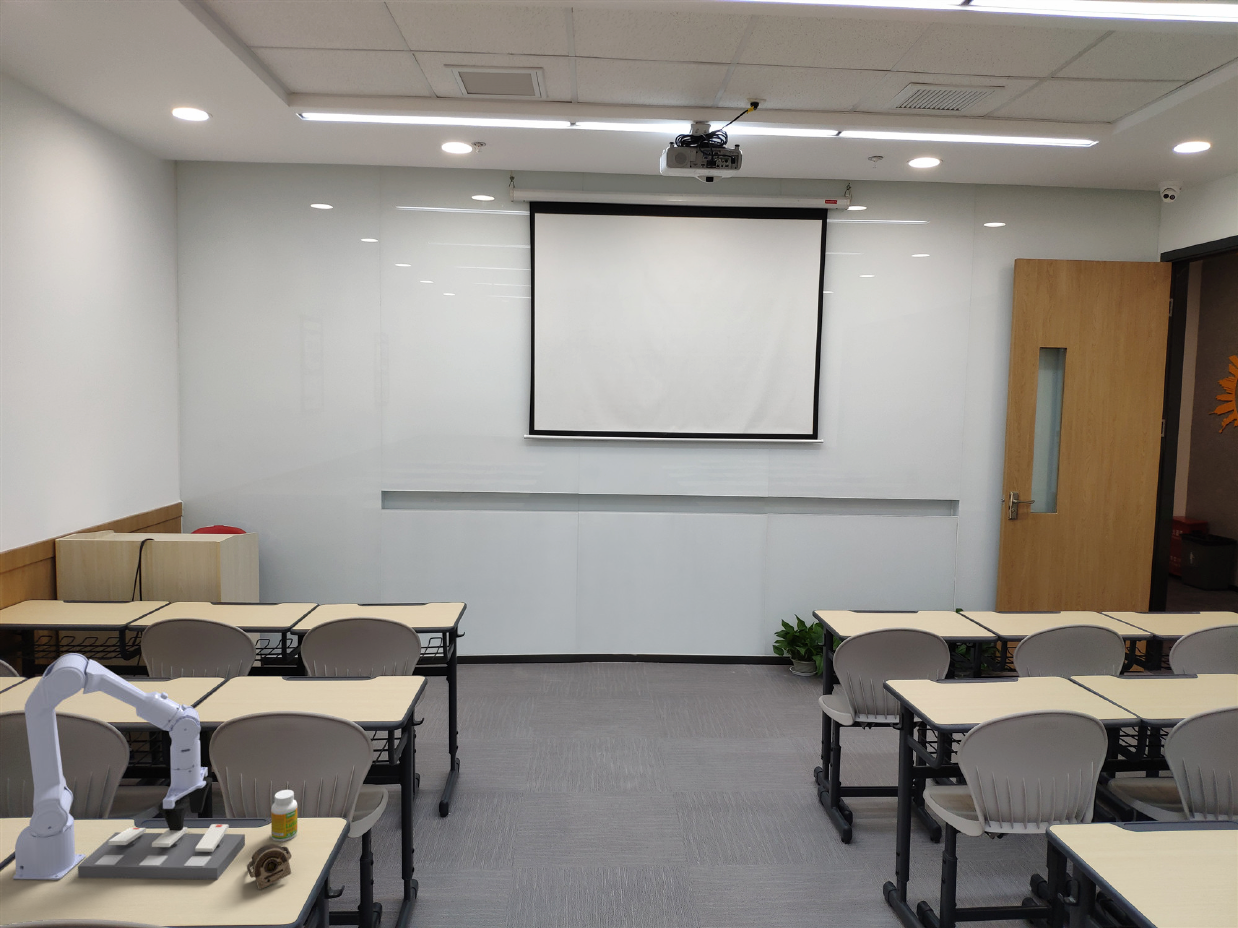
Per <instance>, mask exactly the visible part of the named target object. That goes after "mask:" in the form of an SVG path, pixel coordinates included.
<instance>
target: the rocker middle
mask: <svg viewBox="0 0 1238 928" xmlns="http://www.w3.org/2000/svg"><path fill="white" fill-rule="evenodd" d="M162 833H163V834H162V835H161V836H160V837H158V838H157V839H156V840H155V841H154V842H153V843H152V847H170V846H171V845H172V844H173V843H174V842H175V841H177V840H178V839H179V838H180V837H181V836H182V835H183V834H184V833H188V827H186V826H183V829H182V830H181V831H170V830H169V828H168V829H167V830H166V831H164V832H162Z"/></svg>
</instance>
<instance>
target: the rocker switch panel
mask: <svg viewBox="0 0 1238 928" xmlns="http://www.w3.org/2000/svg"><path fill="white" fill-rule="evenodd" d="M120 833H122V831H121V832H114V833H113V834H112V835H111V836H110V837H109V838H108V839H106V841H105V842H103V843H102V844H101V845H100V846H99V847H97V848H96V849H95V850H94V851H93V852H92V853H91V854H89V856H88V857H85V858H84V860H83V861H81V863H80V864H79V865H78V866H77V875H78V877H77V878H78V879H79V878H80V879H141V880H142V879H143V880H144V879H145V880H146V879H148V880H150V879H151V880H217V881H218V880H219V879H220V877H221V876H222V874H223V873H224V872H225V871H226V869H227V868H228V867H229V866H230V865H231V863H232V862H233V861H234V859H236V857H237V856H238V854H239V853H240V852H241V851H242V849H243V848H244V847H245V845H246V834H244V833H242V834H241V833H239V834H238V833H236V834H235V833H225V834H224V836H223V837H222V839H221V840H220V842H219V843H218V845H217V846H216V848H215V849H214V851H213V852H202V851H195V848H196V846H197V845H198V843H199V842H200V840H201V839H202V838H203V836H204V835H205V833H188V832H186V833H184V834H183V835H182V836H181V837H180V838H179V839H178V840H177V841H175V842H174V843H173V844H172V845H171V846H170V847H152V843H153V842H154V841H155V840H156V839H157V838H158V837H160V836H161V835H162V834H163V833H164V832H144V833H143V834H141V835H140V836H138V837H137V838H135V840H132V841H131V842H129V843H128V844H126V845H108V841H109V840H111V839H112V838H114V837H115V836H117V835H118V834H120Z"/></svg>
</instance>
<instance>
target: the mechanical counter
mask: <svg viewBox="0 0 1238 928" xmlns="http://www.w3.org/2000/svg"><path fill="white" fill-rule="evenodd" d="M291 859H292V853H291V851H290V850H289V847H288V846H281V845H279V844H278V843H277V844H275V843H269V844H265V845H263V846H261V847H260V848H258V849H257V850H256V851H255V852H254V853H253V854H252V856H251V860H250V861H249V863H248V864H247V865H246V869H247V870H246V871H247V873H248V875H249V877H250V878H255V881H256V884H257V888H258V890H262V889H264V888H266V887H268V886H270V885H272V884H274V883H276V882H278V881H280V880H282V879H285V878H286V877H288V876H290V875H291V874H292V870H291V865H290V860H291ZM251 868H252V869H251Z"/></svg>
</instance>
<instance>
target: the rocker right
mask: <svg viewBox="0 0 1238 928" xmlns="http://www.w3.org/2000/svg"><path fill="white" fill-rule="evenodd" d="M229 826H230V825H229V824H225V823H224V824H222V823H220V824H219V823H215V824H213V823H212V824H211V825H210V826H209V828H208V829H207V830H206V832H205V833H204V834H205V835H204V836H203V838H202V839H201V840H200V842H199V843H198V845H197V846H196V848H195V851H202V852H213V851H214V849H215V848H216V846H217V845H218V843H219V842H220V840H221V839H222V837H223V836H224V834H227V831H228V829H229V828H230V827H229Z"/></svg>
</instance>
